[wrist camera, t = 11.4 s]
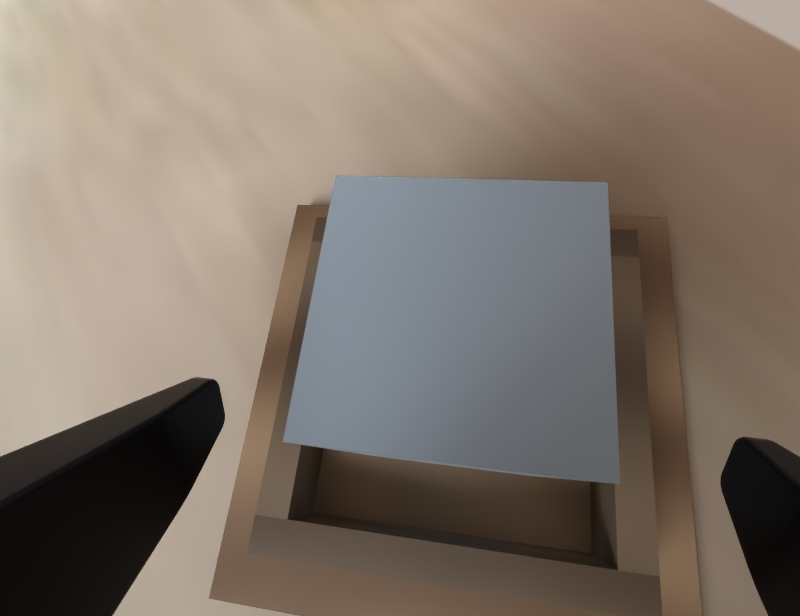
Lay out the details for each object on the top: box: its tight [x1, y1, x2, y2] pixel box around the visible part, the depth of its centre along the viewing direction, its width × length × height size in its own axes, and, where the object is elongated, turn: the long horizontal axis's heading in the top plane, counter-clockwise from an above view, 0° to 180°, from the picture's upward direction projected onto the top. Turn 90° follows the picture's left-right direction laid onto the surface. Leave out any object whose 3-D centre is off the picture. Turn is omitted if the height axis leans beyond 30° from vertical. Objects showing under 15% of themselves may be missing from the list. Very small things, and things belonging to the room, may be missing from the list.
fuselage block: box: [283, 175, 620, 484], centre depth 12 cm, size 5×5×9 cm
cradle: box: [209, 205, 702, 616], centre depth 15 cm, size 15×15×3 cm
